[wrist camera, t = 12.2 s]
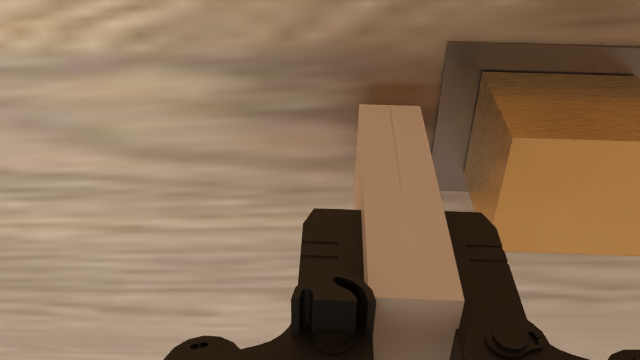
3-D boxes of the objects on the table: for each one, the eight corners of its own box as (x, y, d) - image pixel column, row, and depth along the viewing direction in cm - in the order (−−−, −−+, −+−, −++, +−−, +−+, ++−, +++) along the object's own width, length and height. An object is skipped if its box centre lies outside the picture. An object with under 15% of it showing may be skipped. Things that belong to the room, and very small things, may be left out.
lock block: (636, 76, 16) (700, 143, 13) (601, 177, 18) (651, 256, 15) (482, 71, 16) (513, 137, 13) (463, 173, 18) (487, 250, 15)
